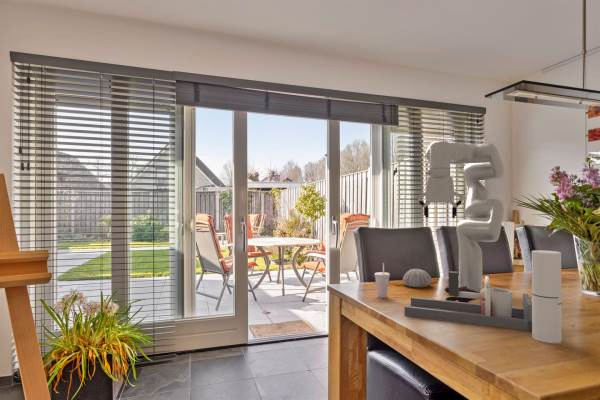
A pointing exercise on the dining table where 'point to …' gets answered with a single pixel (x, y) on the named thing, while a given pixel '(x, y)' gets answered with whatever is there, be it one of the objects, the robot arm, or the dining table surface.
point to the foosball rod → (456, 293)
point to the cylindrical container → (546, 296)
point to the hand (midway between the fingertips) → (440, 217)
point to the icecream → (461, 299)
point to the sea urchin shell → (417, 278)
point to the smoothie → (382, 283)
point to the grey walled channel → (472, 312)
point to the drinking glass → (501, 302)
